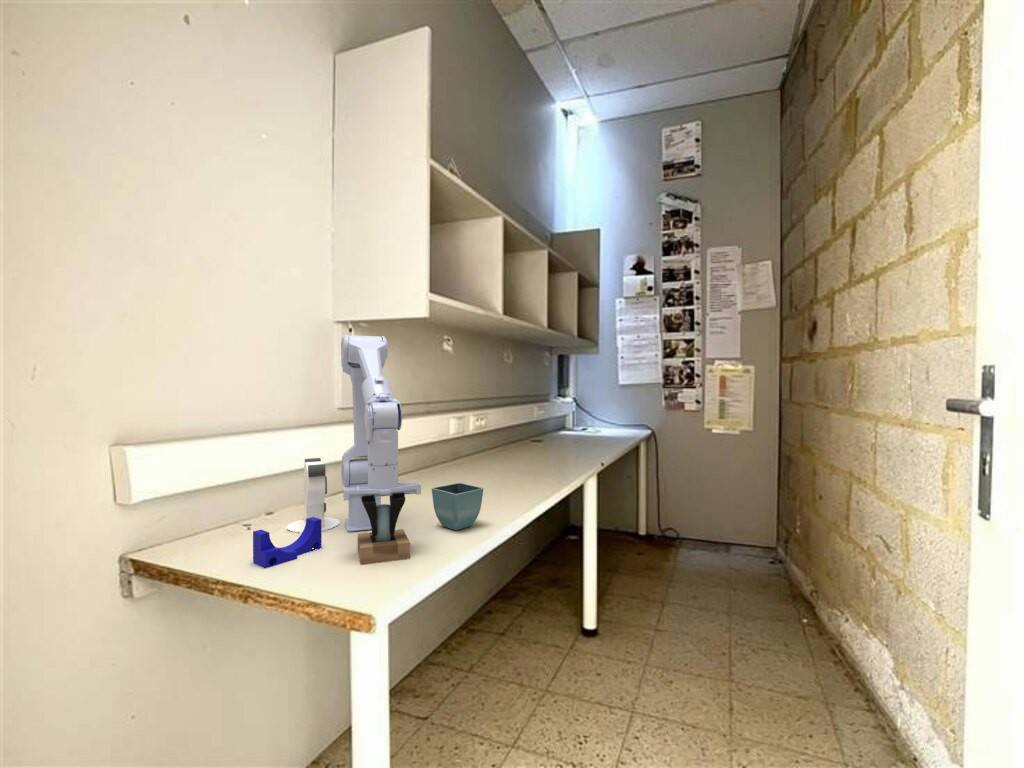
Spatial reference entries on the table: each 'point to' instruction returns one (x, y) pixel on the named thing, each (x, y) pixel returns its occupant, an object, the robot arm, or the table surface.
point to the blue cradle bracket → (271, 555)
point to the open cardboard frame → (383, 548)
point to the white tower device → (314, 496)
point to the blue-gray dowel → (383, 523)
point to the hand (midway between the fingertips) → (383, 533)
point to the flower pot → (457, 504)
